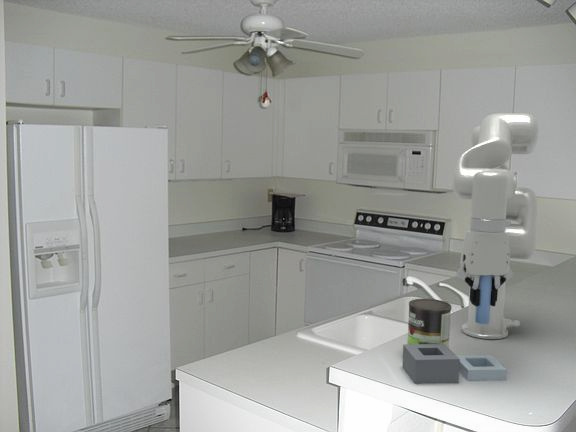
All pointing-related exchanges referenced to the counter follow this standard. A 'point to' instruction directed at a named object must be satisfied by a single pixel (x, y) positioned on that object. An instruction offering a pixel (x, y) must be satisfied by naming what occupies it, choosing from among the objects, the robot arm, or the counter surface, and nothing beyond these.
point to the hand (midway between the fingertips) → (483, 304)
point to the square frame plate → (481, 368)
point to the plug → (484, 300)
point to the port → (430, 363)
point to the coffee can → (429, 322)
